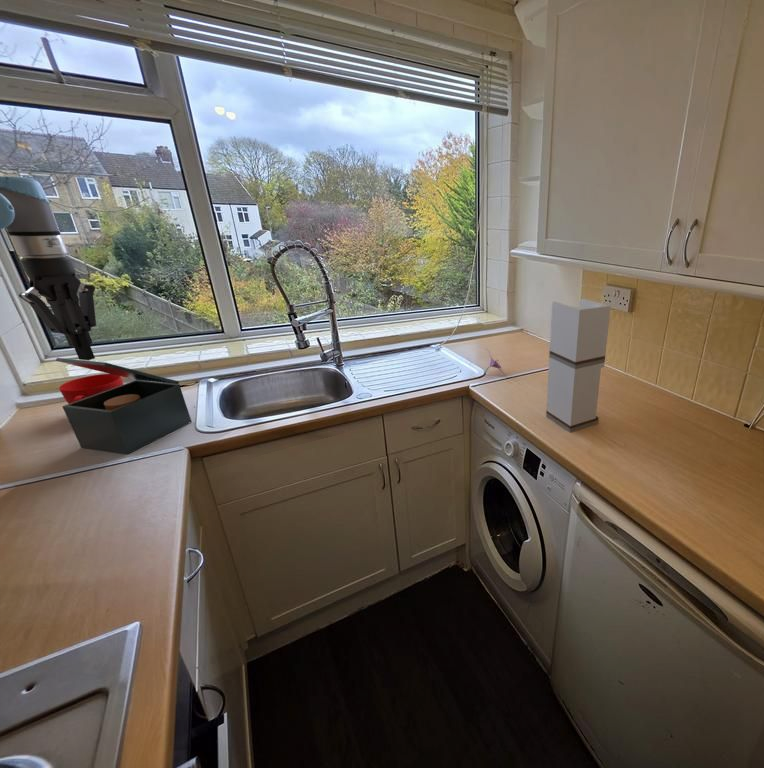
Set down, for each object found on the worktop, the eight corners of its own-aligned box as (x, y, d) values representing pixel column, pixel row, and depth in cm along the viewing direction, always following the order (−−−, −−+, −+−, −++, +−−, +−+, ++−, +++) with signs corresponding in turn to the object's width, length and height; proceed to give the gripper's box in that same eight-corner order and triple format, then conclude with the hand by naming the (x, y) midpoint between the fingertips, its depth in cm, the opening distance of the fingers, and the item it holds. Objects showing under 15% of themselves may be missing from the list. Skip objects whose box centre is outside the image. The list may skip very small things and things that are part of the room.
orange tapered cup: (110, 440, 105) (96, 406, 101) (130, 427, 112) (117, 394, 108) (140, 439, 106) (126, 404, 102) (158, 426, 113) (146, 393, 109)
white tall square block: (597, 423, 120) (610, 305, 106) (569, 432, 115) (579, 309, 101) (573, 408, 129) (582, 298, 115) (546, 416, 123) (552, 301, 110)
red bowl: (56, 432, 110) (40, 399, 106) (85, 407, 124) (72, 377, 121) (117, 423, 115) (104, 391, 111) (138, 400, 129) (127, 371, 126)
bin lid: (104, 365, 94) (105, 362, 95) (55, 360, 97) (56, 357, 97) (178, 384, 112) (179, 381, 112) (135, 379, 115) (136, 377, 115)
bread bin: (127, 454, 101) (110, 412, 96) (81, 447, 103) (61, 406, 99) (191, 421, 117) (179, 384, 112) (150, 416, 119) (136, 379, 115)
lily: (499, 384, 149) (511, 361, 148) (471, 370, 149) (482, 346, 148) (502, 382, 161) (513, 360, 160) (475, 368, 161) (486, 347, 160)
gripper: (19, 259, 81) (67, 369, 90) (92, 254, 93) (128, 351, 102) (-9, 258, 83) (41, 366, 92) (66, 253, 94) (104, 349, 104)
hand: (87, 358), depth 97 cm, fingers closed
